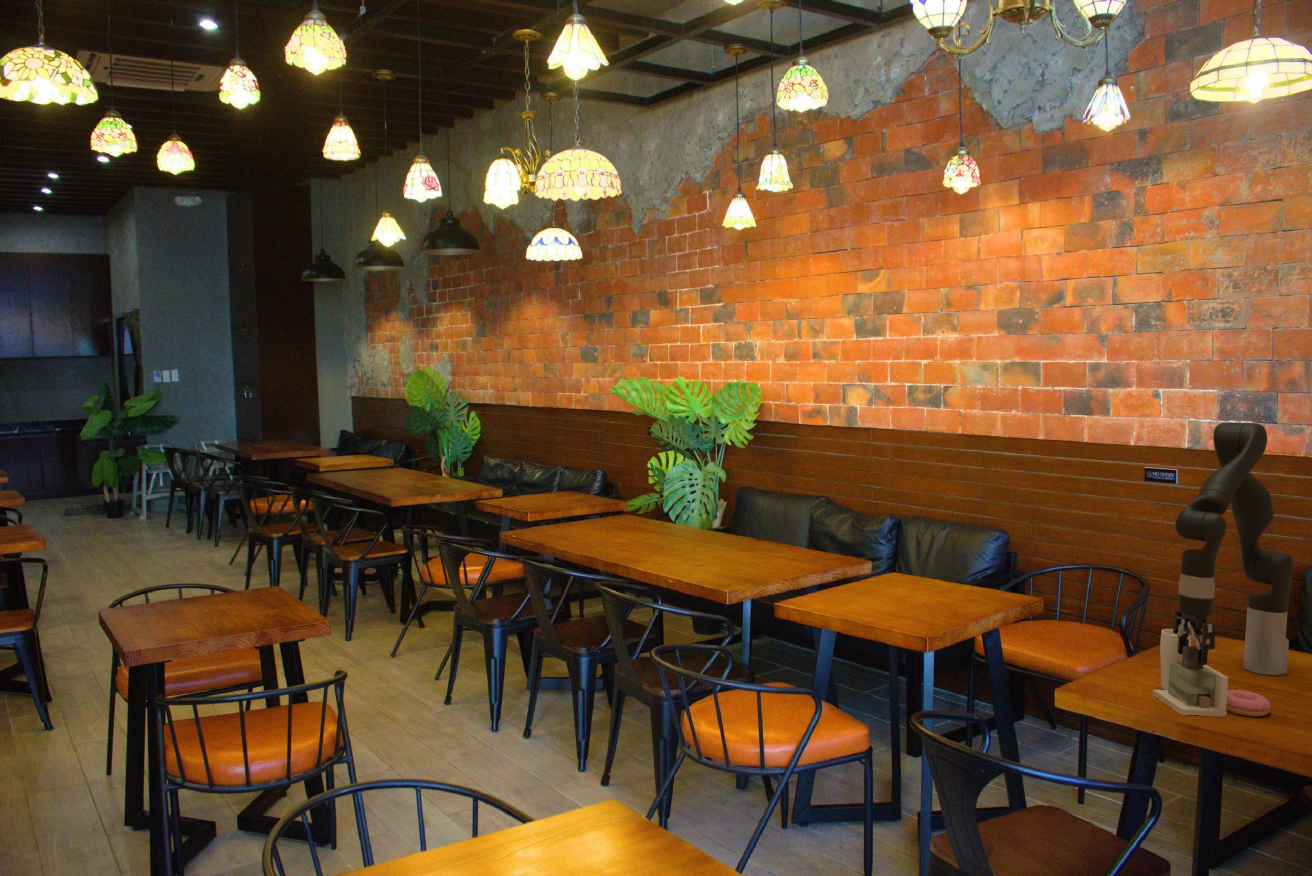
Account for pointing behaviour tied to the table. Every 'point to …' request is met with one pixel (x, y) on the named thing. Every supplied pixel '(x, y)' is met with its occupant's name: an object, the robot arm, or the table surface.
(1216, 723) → the table surface
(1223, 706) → the stand
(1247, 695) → the doughnut
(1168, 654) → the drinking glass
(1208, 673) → the olive boxy piece
